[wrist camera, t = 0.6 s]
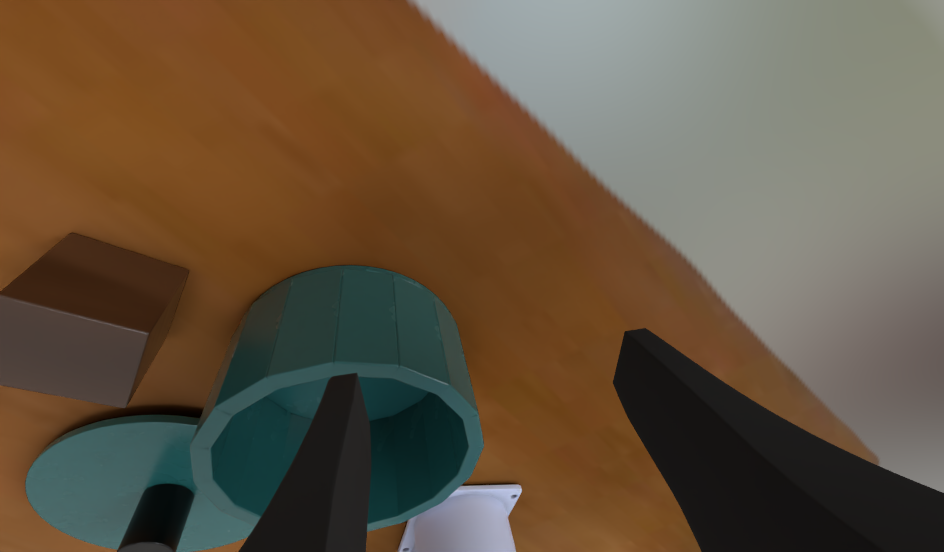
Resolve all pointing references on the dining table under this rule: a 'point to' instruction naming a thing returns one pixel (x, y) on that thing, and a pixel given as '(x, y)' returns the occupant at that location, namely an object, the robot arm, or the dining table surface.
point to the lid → (129, 487)
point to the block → (86, 321)
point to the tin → (304, 382)
